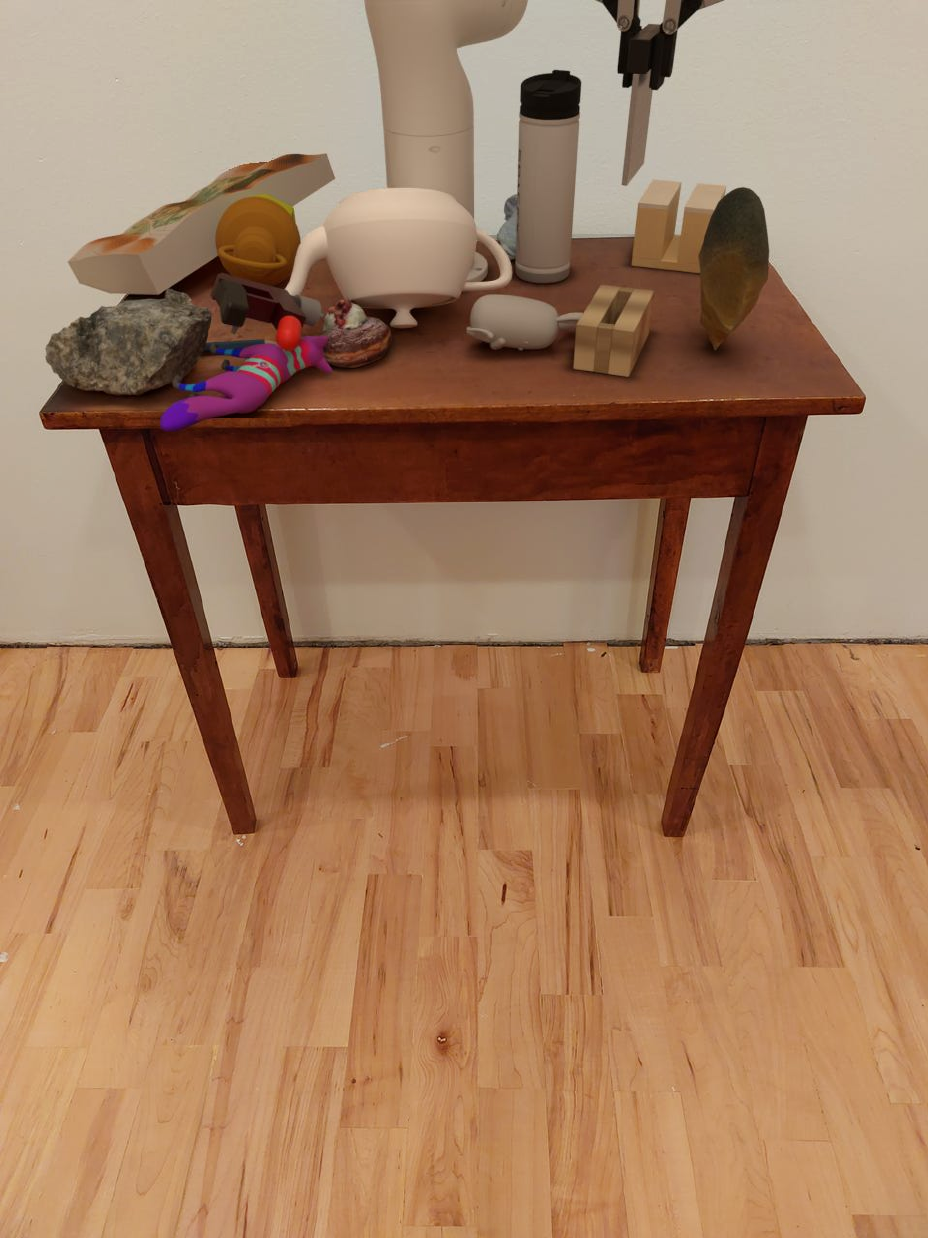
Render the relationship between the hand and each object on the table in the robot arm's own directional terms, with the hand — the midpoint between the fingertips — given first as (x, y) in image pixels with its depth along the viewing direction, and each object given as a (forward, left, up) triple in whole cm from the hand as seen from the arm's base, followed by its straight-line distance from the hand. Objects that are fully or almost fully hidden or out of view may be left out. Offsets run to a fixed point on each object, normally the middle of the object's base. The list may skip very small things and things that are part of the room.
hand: (643, 83), depth 77 cm
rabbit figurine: (-8, -4, -23) cm, 24 cm away
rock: (-39, -27, -17) cm, 50 cm away
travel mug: (-12, +15, -23) cm, 30 cm away
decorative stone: (+10, +1, -23) cm, 25 cm away
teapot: (-24, 0, -11) cm, 26 cm away
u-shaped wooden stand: (+2, +25, -23) cm, 34 cm away
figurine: (-16, +23, -23) cm, 36 cm away
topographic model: (-51, +8, -20) cm, 55 cm away
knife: (0, 0, -7) cm, 7 cm away
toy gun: (-27, -17, -16) cm, 36 cm away
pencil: (-38, -16, -23) cm, 47 cm away
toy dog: (-34, -23, -21) cm, 46 cm away
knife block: (0, -3, -23) cm, 23 cm away
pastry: (-24, -11, -23) cm, 35 cm away
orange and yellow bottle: (-42, +3, -23) cm, 48 cm away
